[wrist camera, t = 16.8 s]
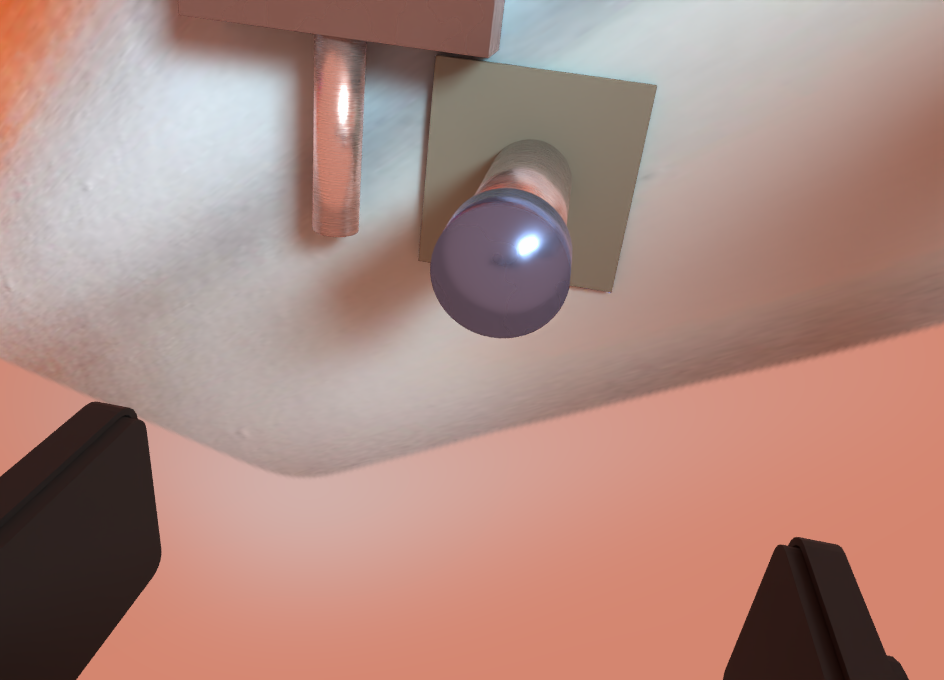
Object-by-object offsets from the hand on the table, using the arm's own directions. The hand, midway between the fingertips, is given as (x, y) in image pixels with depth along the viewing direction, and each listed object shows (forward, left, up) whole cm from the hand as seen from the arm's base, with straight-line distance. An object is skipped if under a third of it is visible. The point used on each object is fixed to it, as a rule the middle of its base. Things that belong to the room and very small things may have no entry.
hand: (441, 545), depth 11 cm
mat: (+1, +1, -23) cm, 23 cm away
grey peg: (+1, +1, -23) cm, 23 cm away
